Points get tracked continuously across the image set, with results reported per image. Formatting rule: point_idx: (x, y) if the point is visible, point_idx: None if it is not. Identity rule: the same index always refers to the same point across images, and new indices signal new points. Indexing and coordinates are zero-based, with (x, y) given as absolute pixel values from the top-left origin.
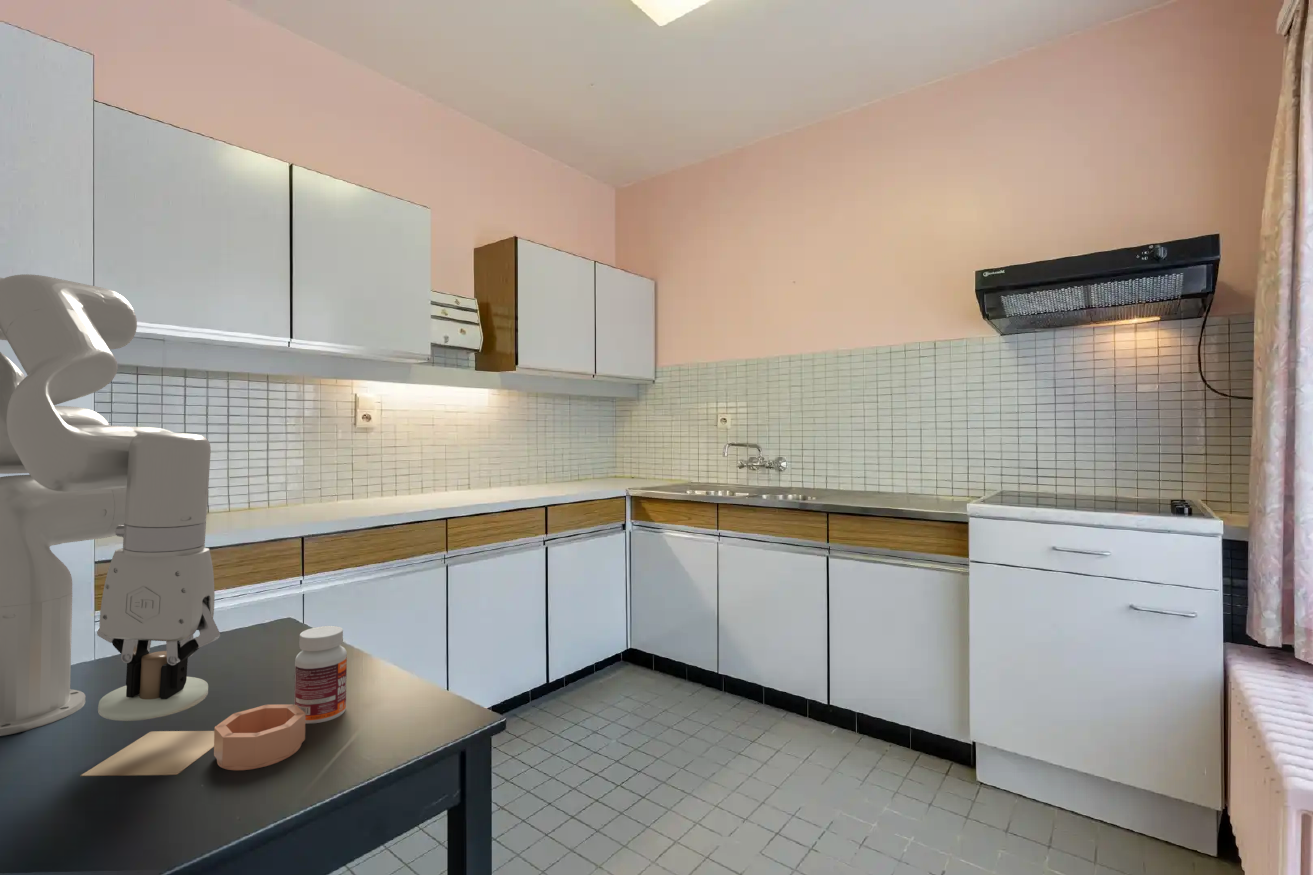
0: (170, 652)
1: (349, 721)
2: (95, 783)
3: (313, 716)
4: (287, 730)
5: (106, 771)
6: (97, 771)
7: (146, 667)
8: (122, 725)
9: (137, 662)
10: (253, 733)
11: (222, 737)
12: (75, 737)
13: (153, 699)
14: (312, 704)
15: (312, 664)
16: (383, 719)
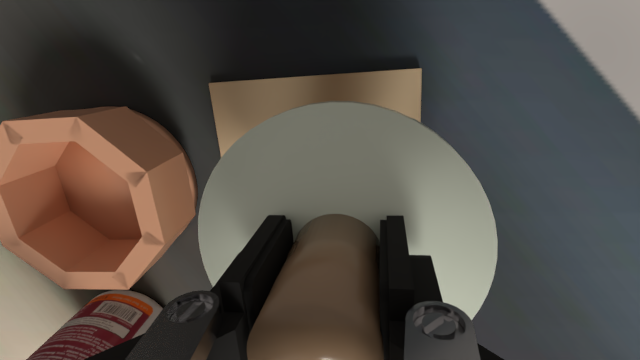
0: (181, 339)
1: (64, 301)
2: (370, 52)
3: (101, 298)
4: None
5: (374, 88)
6: (394, 86)
7: (321, 280)
8: (513, 297)
9: (388, 313)
10: (24, 140)
11: (82, 119)
12: (584, 248)
13: (311, 215)
14: (84, 317)
15: None
16: (12, 307)
